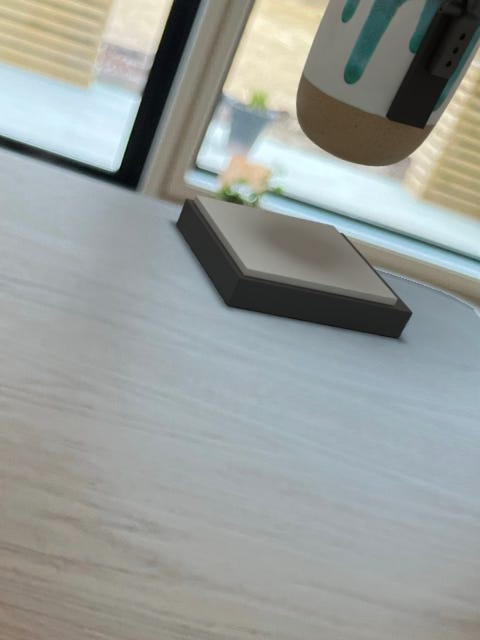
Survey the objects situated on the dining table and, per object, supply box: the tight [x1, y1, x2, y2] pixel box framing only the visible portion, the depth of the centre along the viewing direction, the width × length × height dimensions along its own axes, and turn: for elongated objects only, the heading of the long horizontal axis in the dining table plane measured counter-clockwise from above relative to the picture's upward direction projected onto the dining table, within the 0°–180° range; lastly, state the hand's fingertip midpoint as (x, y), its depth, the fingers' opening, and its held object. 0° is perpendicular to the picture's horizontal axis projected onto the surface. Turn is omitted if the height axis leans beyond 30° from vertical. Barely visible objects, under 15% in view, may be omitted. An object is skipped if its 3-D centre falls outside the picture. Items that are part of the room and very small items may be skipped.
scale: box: [176, 194, 413, 339], centre depth 83 cm, size 15×14×3 cm
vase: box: [295, 0, 480, 168], centre depth 71 cm, size 11×11×19 cm
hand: (370, 94), depth 75 cm, fingers closed on vase, 11 cm apart
